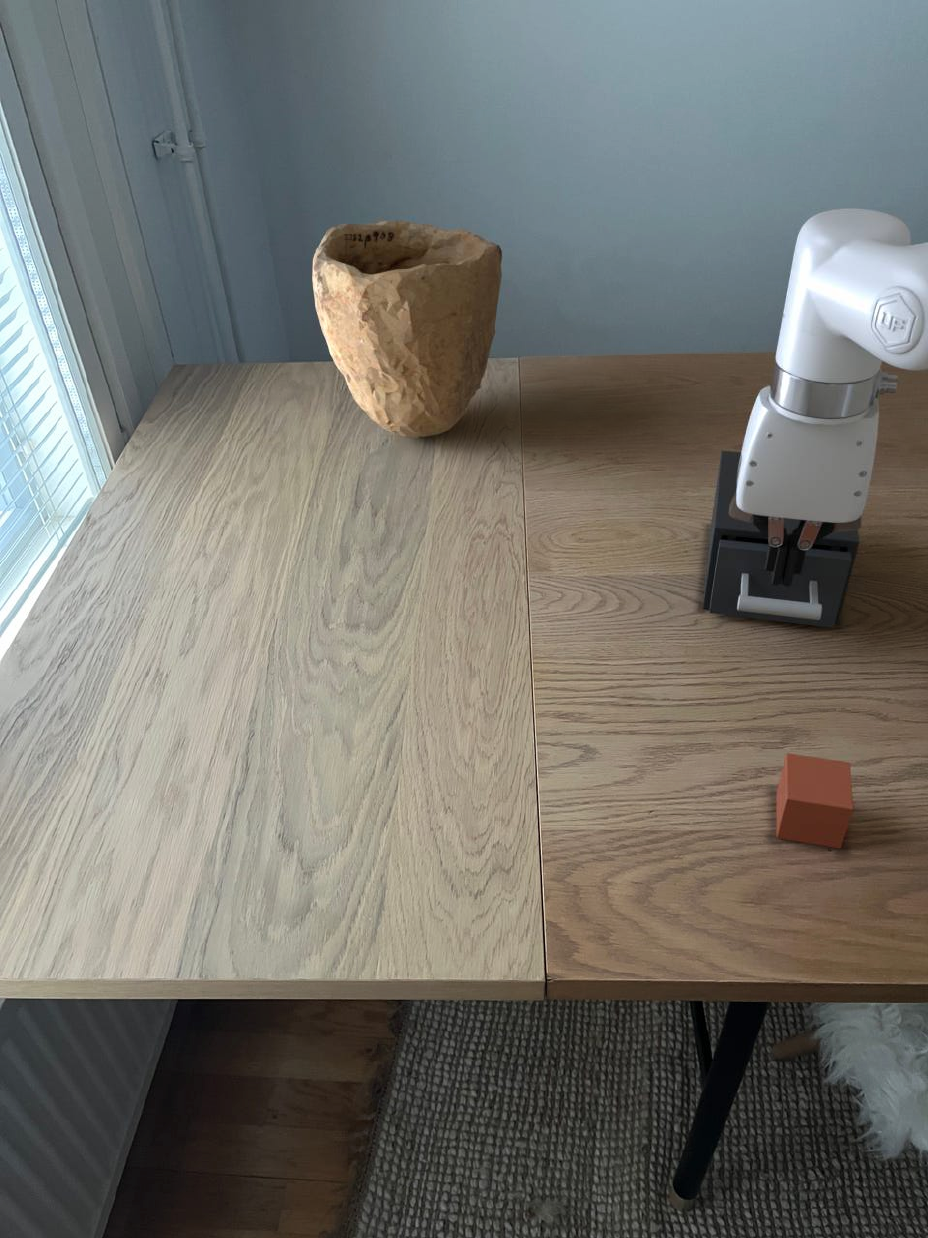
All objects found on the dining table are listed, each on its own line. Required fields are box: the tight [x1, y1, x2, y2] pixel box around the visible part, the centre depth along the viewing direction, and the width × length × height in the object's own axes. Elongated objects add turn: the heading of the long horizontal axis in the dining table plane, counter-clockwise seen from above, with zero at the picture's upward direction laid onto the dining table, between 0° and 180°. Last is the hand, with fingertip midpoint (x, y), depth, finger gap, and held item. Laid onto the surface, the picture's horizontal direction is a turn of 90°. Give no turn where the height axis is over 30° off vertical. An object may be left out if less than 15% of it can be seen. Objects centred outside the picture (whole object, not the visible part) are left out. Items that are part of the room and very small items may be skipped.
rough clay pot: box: [311, 219, 503, 439], centre depth 116 cm, size 22×22×25 cm
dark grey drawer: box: [708, 535, 851, 629], centre depth 91 cm, size 18×11×8 cm, turn 166°
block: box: [776, 753, 854, 850], centre depth 71 cm, size 5×5×5 cm
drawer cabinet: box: [702, 450, 860, 625], centre depth 94 cm, size 15×13×10 cm
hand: (781, 576), depth 84 cm, fingers closed
